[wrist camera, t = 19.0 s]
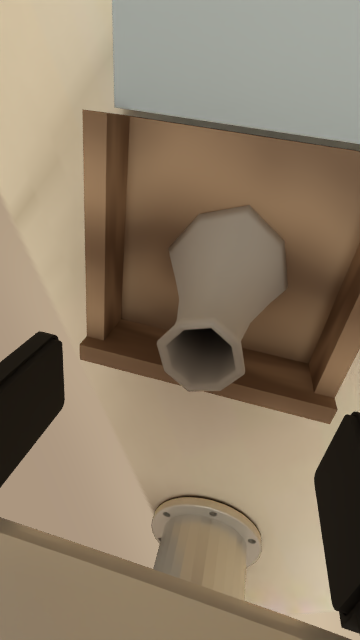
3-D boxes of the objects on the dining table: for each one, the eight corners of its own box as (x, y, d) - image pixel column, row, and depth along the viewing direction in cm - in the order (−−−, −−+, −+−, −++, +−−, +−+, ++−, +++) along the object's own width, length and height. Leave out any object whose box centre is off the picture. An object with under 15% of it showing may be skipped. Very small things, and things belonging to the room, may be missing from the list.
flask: (150, 241, 21) (70, 314, 12) (257, 180, 18) (249, 222, 9) (204, 331, 23) (168, 446, 15) (307, 292, 20) (337, 407, 12)
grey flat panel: (418, 153, 16) (531, -73, 11) (114, 107, 18) (109, -100, 13) (406, 146, 17) (503, -58, 13) (127, 104, 19) (126, -84, 15)
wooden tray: (317, 364, 25) (329, 424, 20) (115, 316, 27) (80, 359, 22) (407, 158, 18) (464, 168, 12) (122, 115, 20) (71, 108, 14)
